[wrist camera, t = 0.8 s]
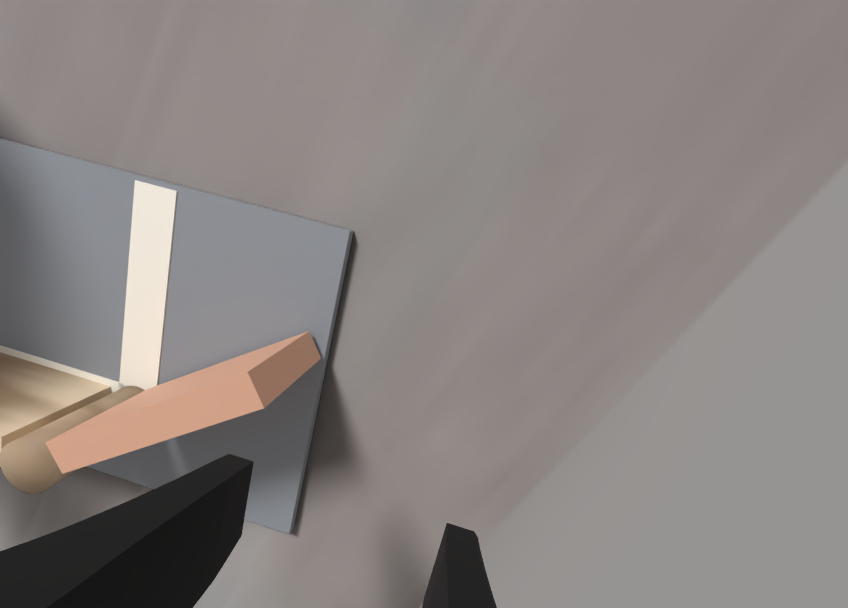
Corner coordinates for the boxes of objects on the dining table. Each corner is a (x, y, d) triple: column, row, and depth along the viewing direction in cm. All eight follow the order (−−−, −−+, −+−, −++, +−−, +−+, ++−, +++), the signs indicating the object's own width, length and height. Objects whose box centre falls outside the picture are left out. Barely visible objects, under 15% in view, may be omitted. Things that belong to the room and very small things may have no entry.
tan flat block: (161, 413, 19) (62, 473, 14) (148, 388, 19) (44, 442, 14) (321, 358, 17) (264, 408, 13) (308, 330, 17) (247, 372, 13)
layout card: (-7, 427, 21) (-20, 432, 21) (-7, 136, 18) (-23, 133, 17) (293, 526, 20) (288, 534, 19) (353, 230, 17) (349, 231, 16)
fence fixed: (-6, 380, 20) (-155, 431, 15) (-6, 341, 20) (-159, 381, 15) (155, 432, 19) (50, 501, 15) (159, 392, 19) (52, 450, 14)
